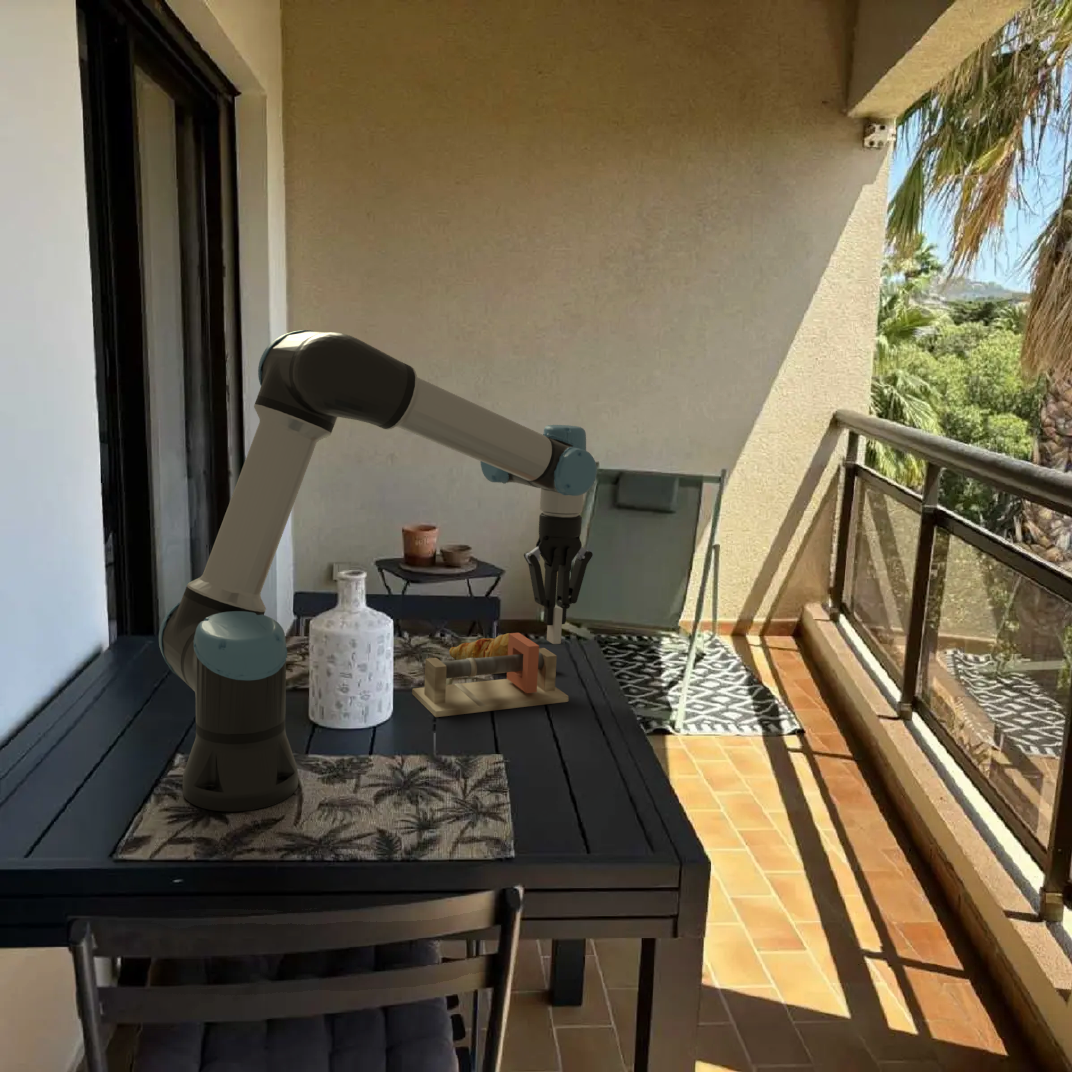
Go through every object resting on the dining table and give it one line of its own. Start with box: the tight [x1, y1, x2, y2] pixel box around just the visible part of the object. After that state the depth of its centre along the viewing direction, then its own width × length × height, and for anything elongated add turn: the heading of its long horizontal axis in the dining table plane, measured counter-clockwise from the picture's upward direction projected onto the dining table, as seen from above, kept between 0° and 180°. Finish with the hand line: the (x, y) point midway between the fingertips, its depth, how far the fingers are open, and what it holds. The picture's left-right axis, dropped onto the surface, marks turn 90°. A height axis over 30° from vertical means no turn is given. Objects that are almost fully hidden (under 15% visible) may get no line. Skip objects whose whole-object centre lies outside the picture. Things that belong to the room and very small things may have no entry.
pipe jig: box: [411, 647, 569, 718], centre depth 178 cm, size 25×12×8 cm, turn 116°
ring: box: [506, 632, 540, 693], centre depth 180 cm, size 2×8×8 cm, turn 26°
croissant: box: [448, 632, 509, 660], centre depth 197 cm, size 21×10×8 cm, turn 80°
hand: (553, 641), depth 182 cm, fingers closed
